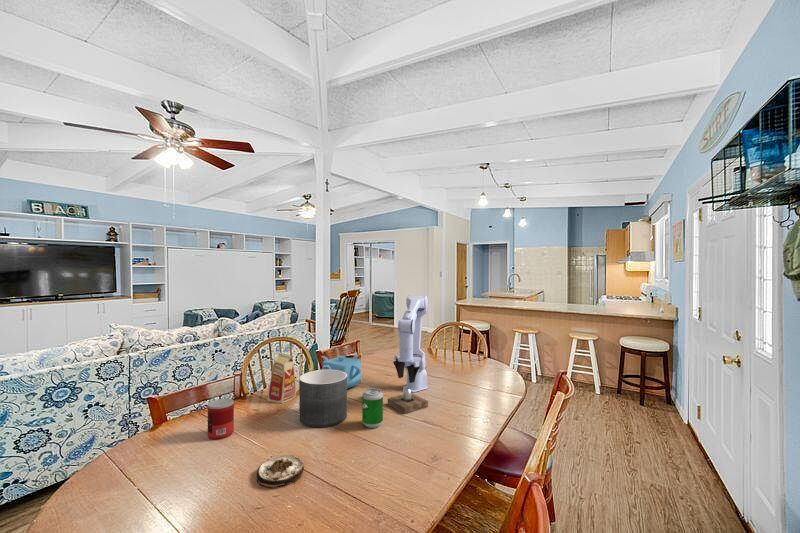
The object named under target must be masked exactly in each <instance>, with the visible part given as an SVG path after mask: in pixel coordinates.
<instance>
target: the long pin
mask: <svg viewBox="0 0 800 533" xmlns="http://www.w3.org/2000/svg"><path fill="white" fill-rule="evenodd" d="M411 393H412V392H411V388H403V387H402V394H403V401H404V402H406V403H407V402H411Z"/></svg>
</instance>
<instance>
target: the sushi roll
mask: <svg viewBox="0 0 800 533" xmlns="http://www.w3.org/2000/svg"><path fill="white" fill-rule="evenodd" d="M303 465H304V463H303V460H302V459H301V458H300V457H295V456H294V455H293V454H290V455H280V456H276V457H273V458H271V459H267V460H266V461H264V462H262V464H260V465H259V467H258V469H257V470H256V471H257V472H256V482H257V484H258V485H259V486H261V487H263V488H267V489H273V488H278V487H279V488H283V487H286V486H288V485H291V484H293V483H294V482H295V483H294V485H297V484H298V481H299V480H300V479H302V477H303V475H304V470H305V466H303ZM290 483H291V484H290Z"/></svg>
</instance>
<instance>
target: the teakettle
mask: <svg viewBox="0 0 800 533" xmlns="http://www.w3.org/2000/svg"><path fill="white" fill-rule="evenodd" d="M320 356H321V358H322V359H323V361H322V362H321V363H322V368H321V370H338V371H342V372H345V373H346V374H347V390H348V389H350V388H351V387H353V388H355V386H356V385H359V384H361V383H362V360H361V359H358V357H359V356H360V355H359V354H355V355H353V357H352V358H351V357H346V355H338V356H336V357H332V358H329V359H328V357H327V356H325V355H320Z"/></svg>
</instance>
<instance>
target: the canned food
mask: <svg viewBox="0 0 800 533" xmlns="http://www.w3.org/2000/svg"><path fill="white" fill-rule="evenodd" d="M234 403H235V402H234V399H232V398H219V399H215V400H212V401H210V402H208V404H207V437H208V439H209V440H212V441H213V440H214V441H217V440H223V439H226V438H229V437H230V436H232V435H233V433H234V428H235V427H234V426H235V424H234V423H235V420H234V418H235V417H234V416H235V414H234V413H235V404H234Z"/></svg>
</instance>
